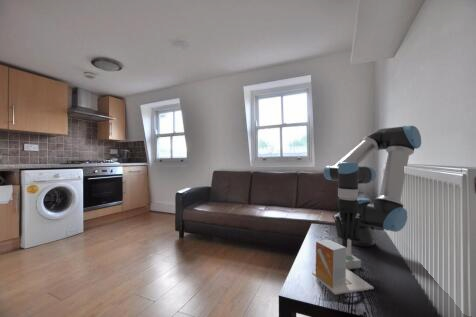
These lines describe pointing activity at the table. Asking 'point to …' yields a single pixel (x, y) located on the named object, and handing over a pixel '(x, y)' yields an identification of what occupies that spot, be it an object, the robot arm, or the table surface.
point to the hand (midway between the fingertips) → (347, 254)
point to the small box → (331, 263)
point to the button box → (353, 263)
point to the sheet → (349, 284)
